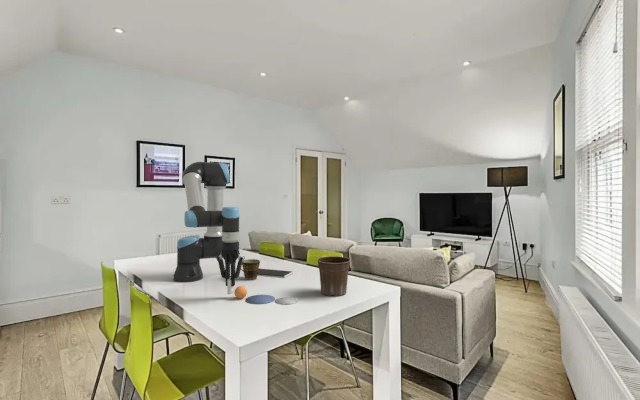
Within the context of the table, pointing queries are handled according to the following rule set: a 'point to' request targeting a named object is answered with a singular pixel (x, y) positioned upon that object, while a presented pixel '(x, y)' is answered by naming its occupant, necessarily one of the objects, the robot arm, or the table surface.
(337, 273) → the plant pot
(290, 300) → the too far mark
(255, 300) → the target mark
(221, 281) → the table surface
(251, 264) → the ceramic cup
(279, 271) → the dark grey flat slab
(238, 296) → the ball
